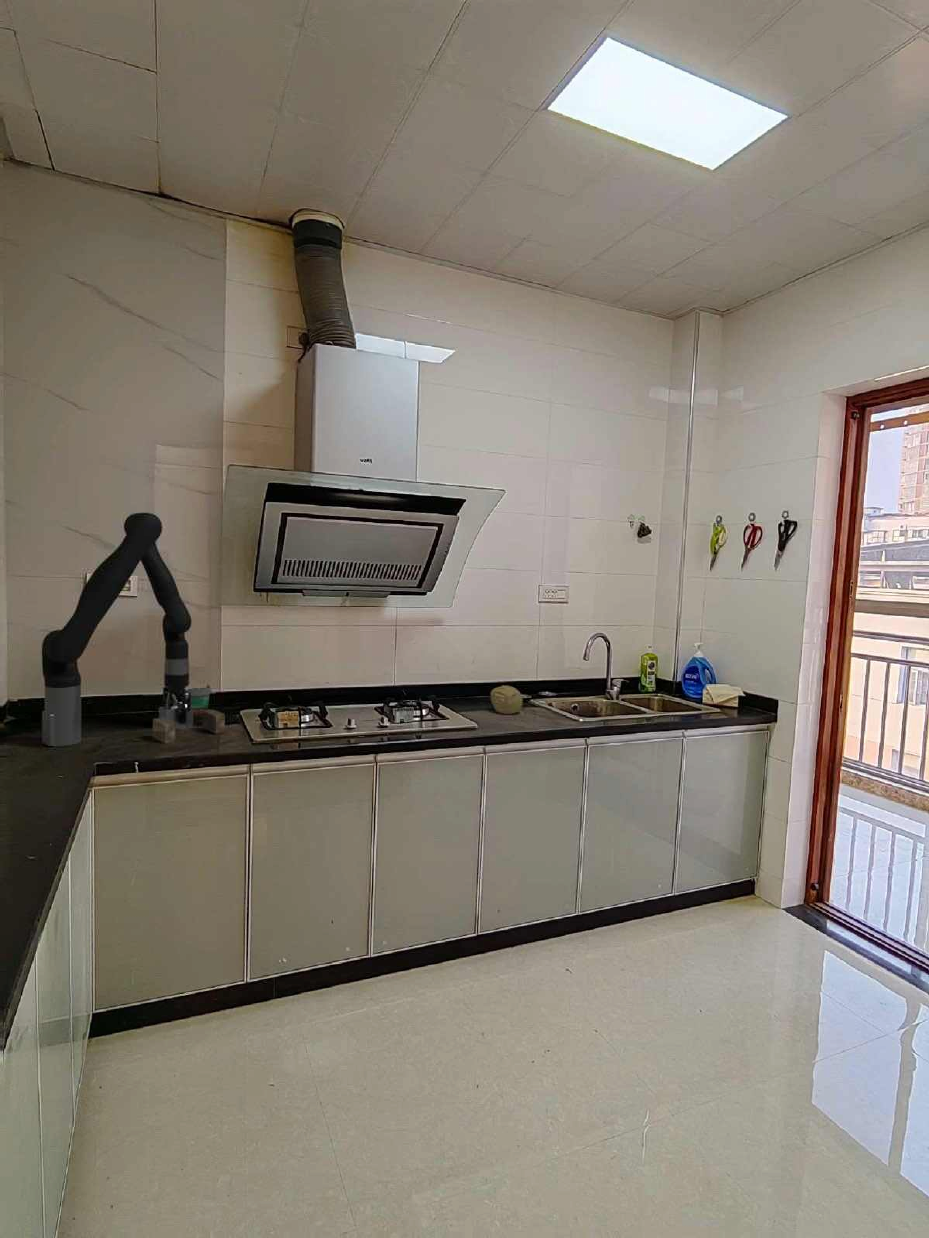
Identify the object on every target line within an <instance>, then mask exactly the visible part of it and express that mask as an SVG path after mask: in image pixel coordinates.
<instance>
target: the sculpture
mask: <svg viewBox="0 0 929 1238" xmlns="http://www.w3.org/2000/svg"><path fill="white" fill-rule="evenodd" d="M490 701H491V703H492V705H493V708H494V710H495V711H496V712H497V713H498V714H502V715H512V714H516V713H518V712H520V710H521V709H522V706H523V701H524V699H523V697H522V694H521V692H520V691H519V690H518V689H517V688H515V687H513V686H510V685H504V684H503V685H501V686H498V687H495V688H493V689H492V690H491V691H490Z"/></svg>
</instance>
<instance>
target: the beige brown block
mask: <svg viewBox="0 0 929 1238" xmlns="http://www.w3.org/2000/svg"><path fill="white" fill-rule="evenodd" d="M176 732H177V730H176V723H175V722H172V721H170V720H167V719H165V718H159V717H158V718H153V719H152V739H154V740H156V741H158V742H160V743H163V744H165V743H166V744H171V743H176Z"/></svg>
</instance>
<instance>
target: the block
mask: <svg viewBox="0 0 929 1238" xmlns="http://www.w3.org/2000/svg"><path fill="white" fill-rule="evenodd" d="M186 705H187V704H186ZM181 709H182V706H181ZM158 718H165V719H167V720H170V721H172V722H175V723H176V729H177V730H183V729H188V728H187V727H189V728H193V727H194V718H193V706H191V710H190V711H187V712H186V723H184V724H180V723H179V710H178V707H177V706H176V705H172V706H166V705H165V706H159V708H158ZM192 726H193V727H192Z"/></svg>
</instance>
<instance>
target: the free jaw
mask: <svg viewBox="0 0 929 1238" xmlns="http://www.w3.org/2000/svg"><path fill="white" fill-rule="evenodd" d="M225 714H226V713H223V712H221V711H218V710H215V709H208V710H205V711H203V717H202V720H201V721H202V724H201V725H202V729H203V730H205V731H208V732H211V733H213V734H216V735H217V734H222V733H225V726H226V725H225V723H226V722H225V718H226V717H225V716H226V715H225Z"/></svg>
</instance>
